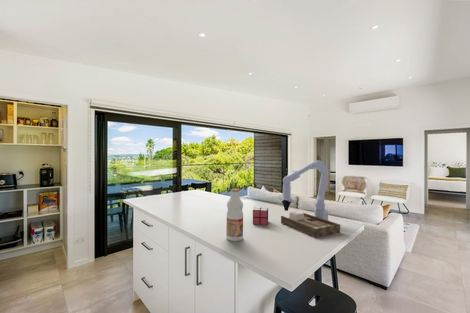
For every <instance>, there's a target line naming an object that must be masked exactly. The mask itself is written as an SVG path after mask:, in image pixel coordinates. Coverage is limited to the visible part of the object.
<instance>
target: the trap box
mask: <svg viewBox="0 0 470 313" xmlns="http://www.w3.org/2000/svg"><path fill="white" fill-rule="evenodd" d="M303 213H304V219H302V220H294V219H291V218H289V217H287V216H284V215H280V224H282V225H284V226H287V227H289V228H291V229H294V230H296V231H297V232H301V233H303V234H306V235H308V236H309V237H312V238H315V239H316V238H320V237H321V238H322V237H325V236H326V237H327V236H330V235H331V236H332V235H335V234H340V233H341V223H340V224H339V223H337V222H334V221H331V220H329V219H328V220H324V219H321V218H318V217H315V216H314V215H311V214H308V213H305V212H303Z"/></svg>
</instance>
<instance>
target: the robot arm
mask: <svg viewBox="0 0 470 313" xmlns="http://www.w3.org/2000/svg"><path fill="white" fill-rule="evenodd" d="M315 169H316V170H317V171H318V172H319V173H320V180H319V186H318V191H317V196H316V199H315V201H314V205H315V206H314V208H313V209H314V210H313V216H315V217H318V218H321V219H324V220H328V221H329V211H328V209H326V203H325V196H326V191H327V184H328V179H329V170H328V168H327V166H326V164H325V163H324V162H323V161H321V160H319V159H318V160H315V161H312V162H311V163H308V164H306V165H305V166H304V167H301V169H299V170H293V171H292V172H291V173H289V174H287V175H286V176H284V177H283V178H282V183H283V184H282V196H279V199H278V200H282V201H281V203H282V205H283V208H284V211H286V212H288V211H289V208H290V205H291V203H293V204H294V203H295V200H294V199H293V198H291V191H292V189H291V187H292V186H291V182H294V181H296V180H298V179H299V178H300V177H301V175H302V174H304V173H305V172H307V171H310V170H315Z"/></svg>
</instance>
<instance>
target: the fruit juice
mask: <svg viewBox="0 0 470 313" xmlns="http://www.w3.org/2000/svg"><path fill="white" fill-rule="evenodd" d="M230 192H231V193H230V198H229V199H228V200H227V204H226V209H227V211H226V233H225V234H226V236H225V237H226V239H227V240H228V241H231V242H239V241H242V240H243V237H244V212H243V208H244V203H243V201H242V199H241V197H240V188H231V189H230Z"/></svg>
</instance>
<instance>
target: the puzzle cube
mask: <svg viewBox="0 0 470 313" xmlns="http://www.w3.org/2000/svg"><path fill="white" fill-rule="evenodd" d="M268 223H269V207H265V206H264V207H263V206H262V207H261V206H254V207H253V209H252V225H257V224H258V225H259V226H268Z"/></svg>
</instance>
